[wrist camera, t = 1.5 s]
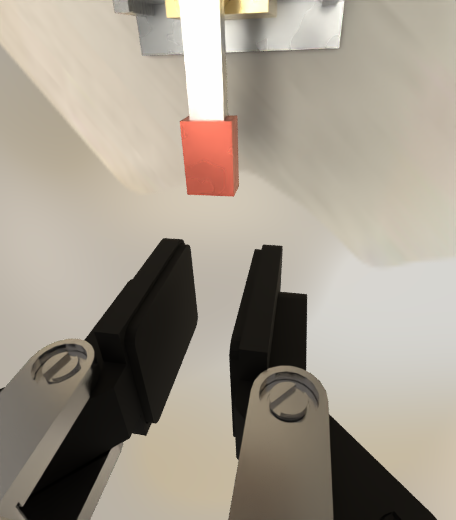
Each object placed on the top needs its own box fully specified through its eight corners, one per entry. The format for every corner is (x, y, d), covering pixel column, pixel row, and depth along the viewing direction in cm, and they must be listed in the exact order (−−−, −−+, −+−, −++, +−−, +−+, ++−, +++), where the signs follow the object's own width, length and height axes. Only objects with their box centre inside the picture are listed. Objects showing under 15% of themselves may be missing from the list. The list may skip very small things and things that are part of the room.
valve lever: (169, -101, 16) (155, -115, 15) (232, -108, 16) (224, -124, 14) (195, 184, 24) (187, 194, 22) (238, 186, 23) (233, 196, 22)
